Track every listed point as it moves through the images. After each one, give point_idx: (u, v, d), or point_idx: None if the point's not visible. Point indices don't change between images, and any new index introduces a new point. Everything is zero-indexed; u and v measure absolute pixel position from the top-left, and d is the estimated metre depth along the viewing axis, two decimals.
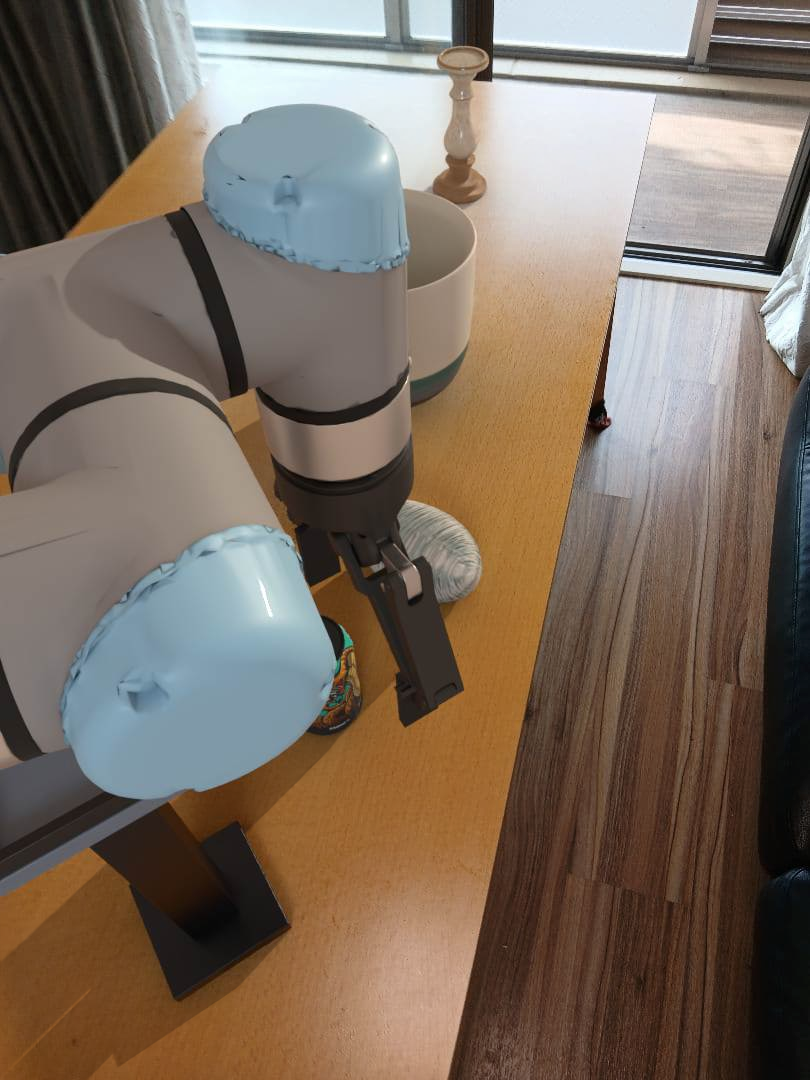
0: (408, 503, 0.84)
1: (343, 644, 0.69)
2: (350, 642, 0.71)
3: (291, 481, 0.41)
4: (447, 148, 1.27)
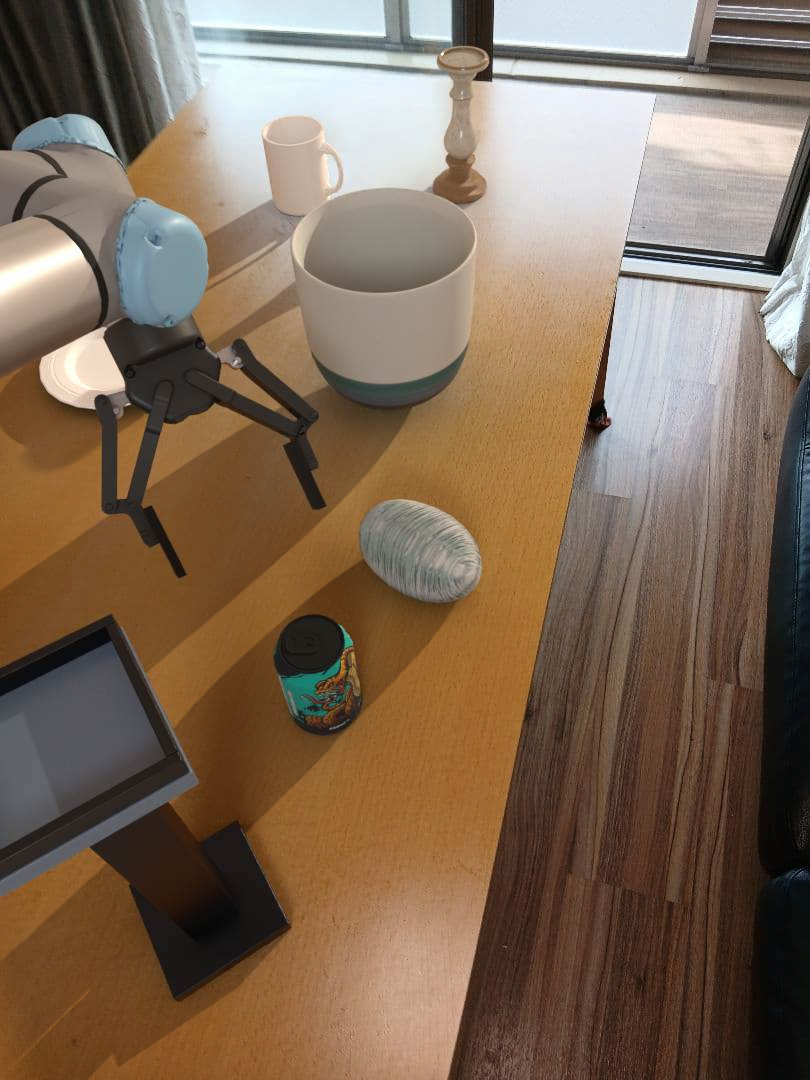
0: (409, 503, 0.84)
1: (343, 644, 0.69)
2: (350, 642, 0.71)
3: None
4: (447, 148, 1.27)
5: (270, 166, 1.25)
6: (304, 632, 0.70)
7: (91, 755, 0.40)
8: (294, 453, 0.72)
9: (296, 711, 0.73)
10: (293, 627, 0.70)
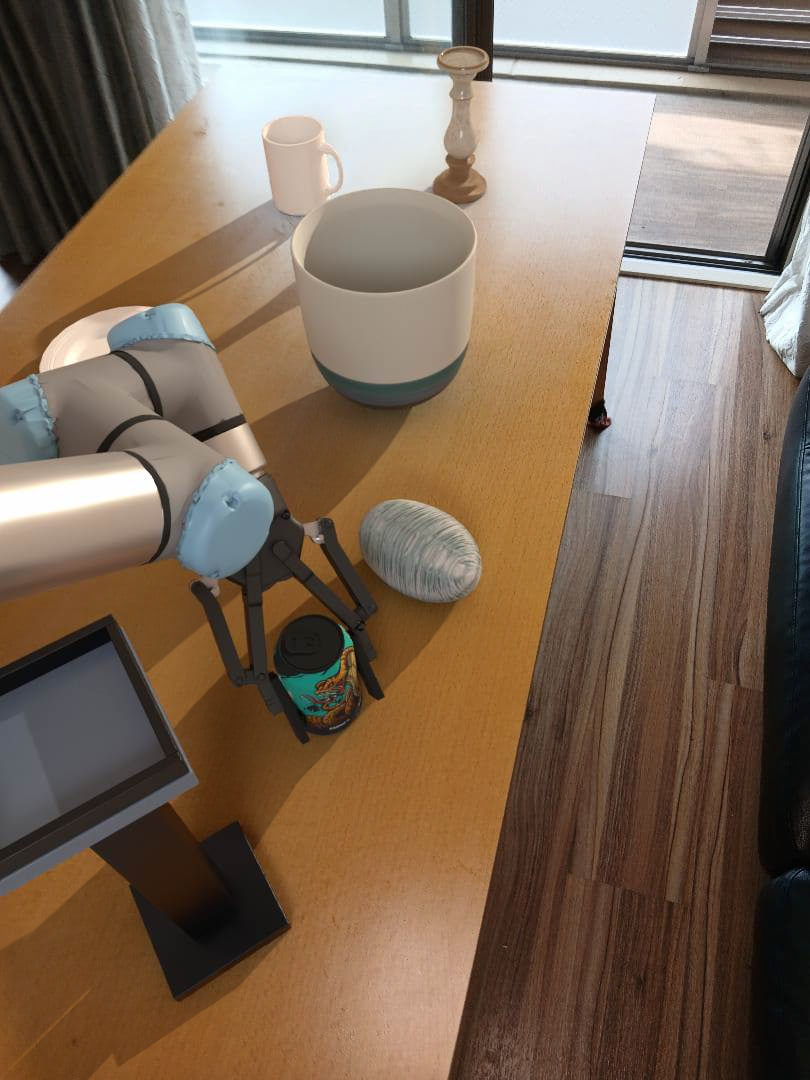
0: (409, 503, 0.84)
1: (343, 644, 0.69)
2: (350, 642, 0.71)
3: None
4: (447, 148, 1.27)
5: (270, 166, 1.25)
6: (304, 632, 0.70)
7: (91, 755, 0.40)
8: (354, 647, 0.73)
9: (296, 711, 0.73)
10: (293, 627, 0.70)
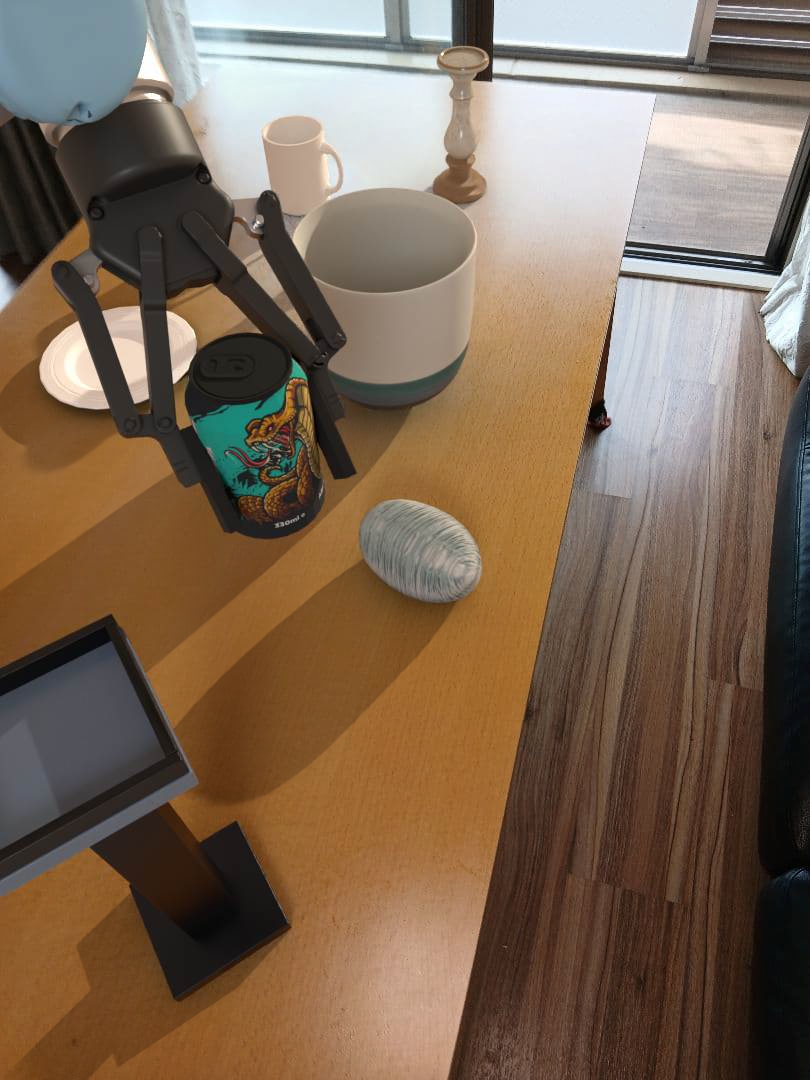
0: (408, 503, 0.84)
1: (290, 367, 0.45)
2: (302, 374, 0.46)
3: (141, 105, 0.42)
4: (447, 148, 1.27)
5: (270, 166, 1.25)
6: (232, 354, 0.46)
7: (91, 755, 0.40)
8: (310, 393, 0.48)
9: None
10: (215, 348, 0.46)
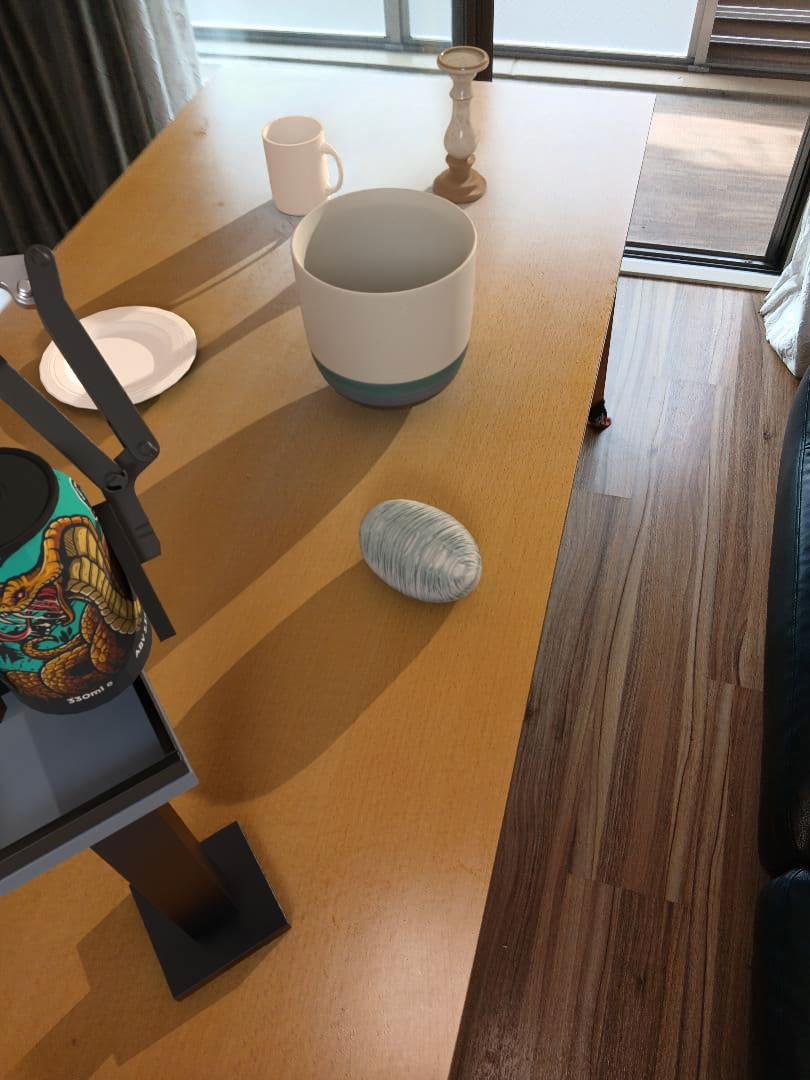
0: (408, 503, 0.84)
1: (50, 504, 0.31)
2: (81, 508, 0.32)
3: None
4: (447, 148, 1.27)
5: (270, 166, 1.25)
6: None
7: (91, 755, 0.40)
8: (104, 527, 0.34)
9: None
10: None
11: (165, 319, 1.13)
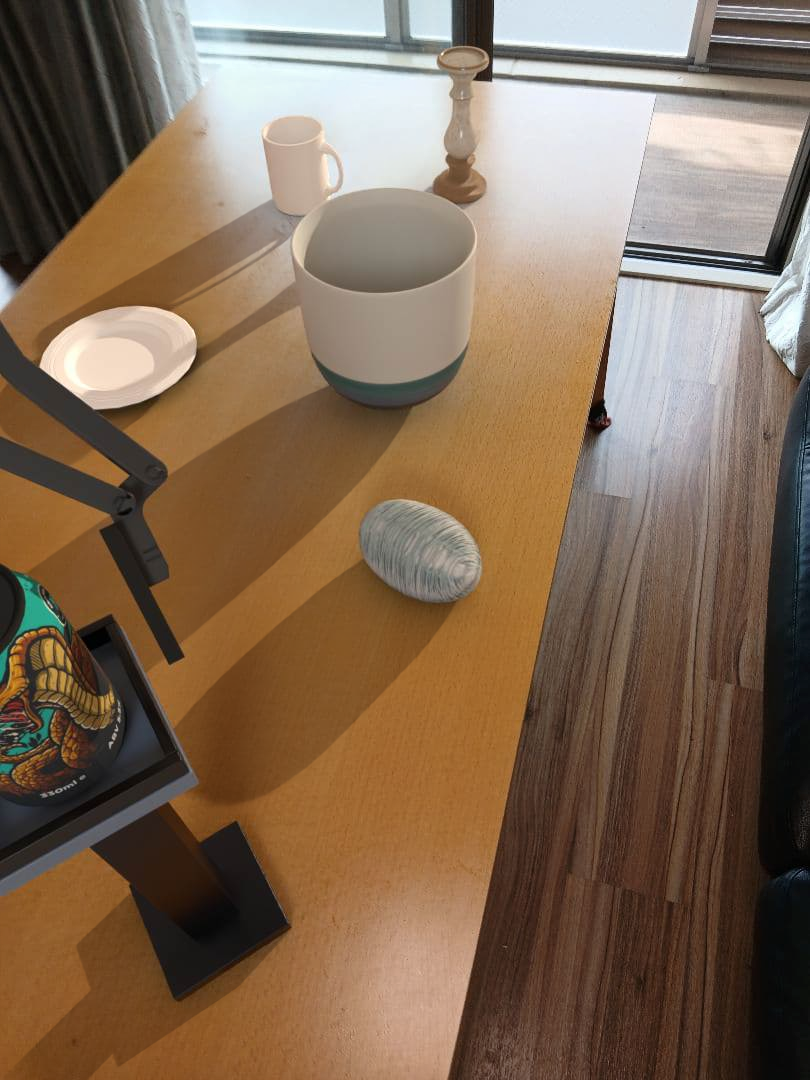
0: (409, 503, 0.84)
1: (16, 621, 0.31)
2: (48, 618, 0.33)
3: None
4: (447, 148, 1.27)
5: (270, 166, 1.25)
6: None
7: None
8: (112, 552, 0.35)
9: None
10: None
11: (165, 319, 1.13)
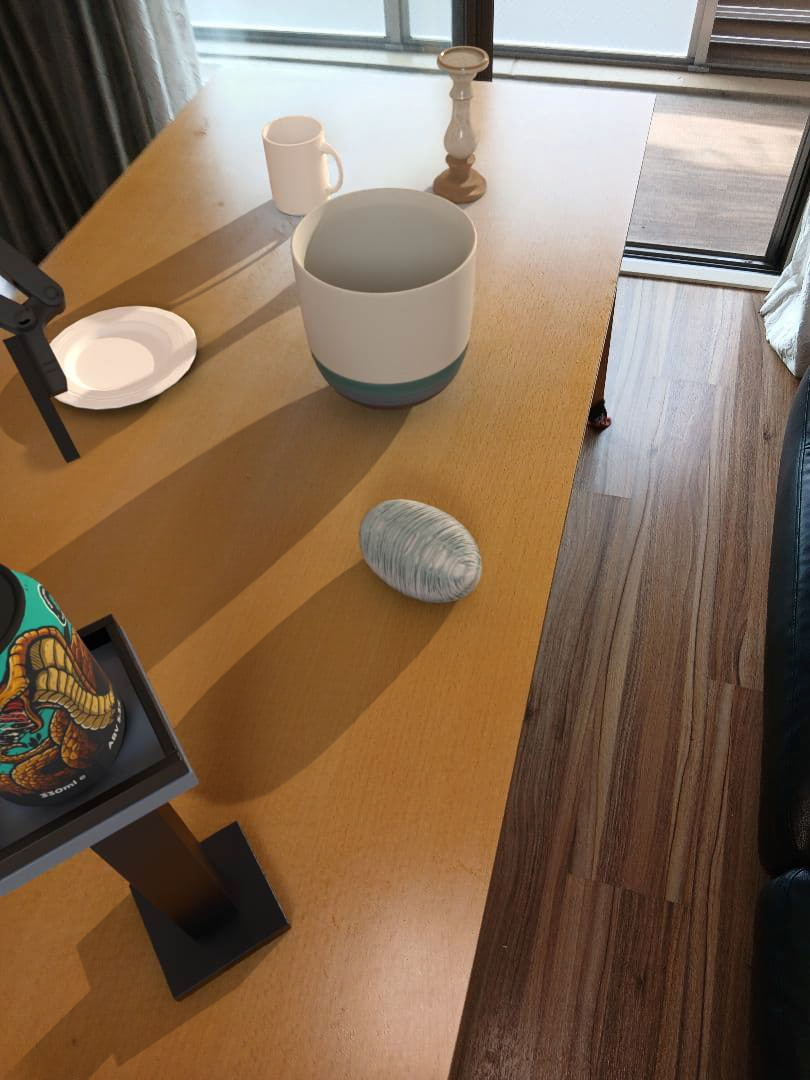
0: (408, 503, 0.84)
1: (16, 621, 0.31)
2: (48, 618, 0.33)
3: None
4: (447, 148, 1.27)
5: (270, 166, 1.25)
6: None
7: None
8: (14, 358, 0.40)
9: None
10: None
11: (165, 319, 1.13)
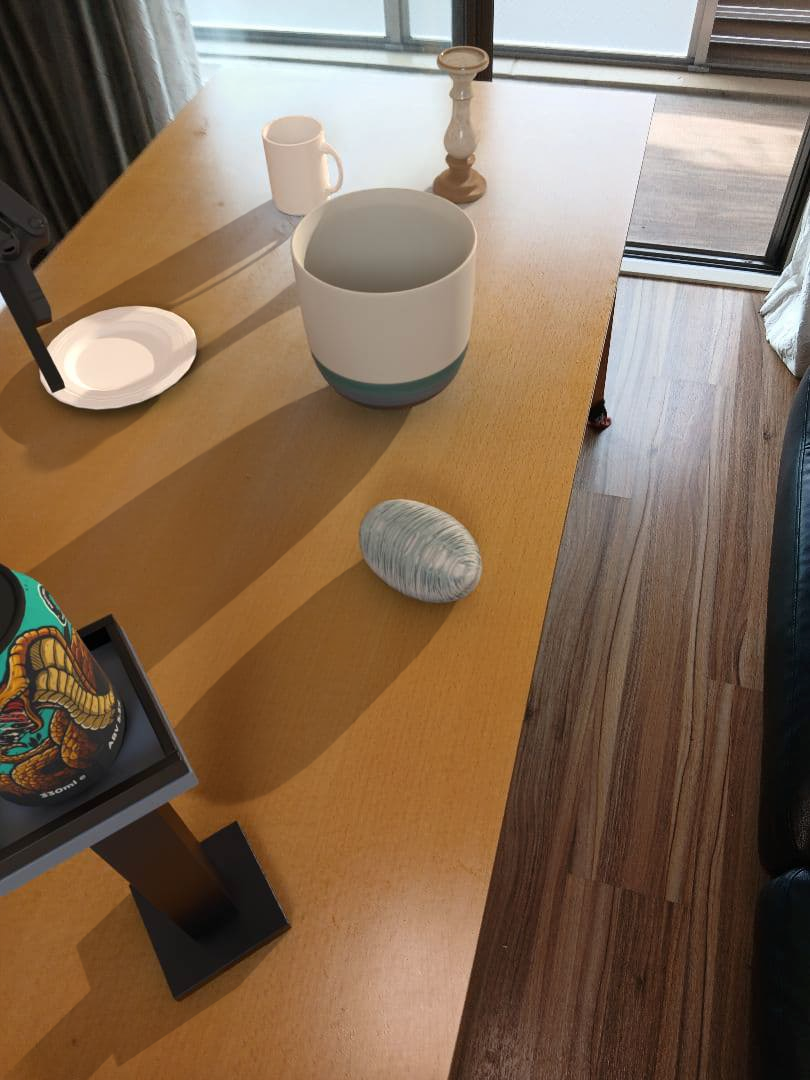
0: (409, 503, 0.84)
1: (16, 621, 0.31)
2: (48, 618, 0.33)
3: None
4: (447, 148, 1.27)
5: (270, 166, 1.25)
6: None
7: None
8: None
9: None
10: None
11: (165, 319, 1.13)
